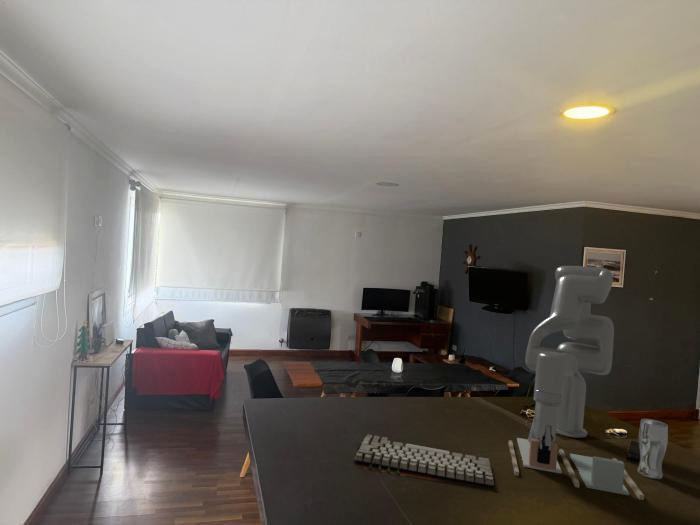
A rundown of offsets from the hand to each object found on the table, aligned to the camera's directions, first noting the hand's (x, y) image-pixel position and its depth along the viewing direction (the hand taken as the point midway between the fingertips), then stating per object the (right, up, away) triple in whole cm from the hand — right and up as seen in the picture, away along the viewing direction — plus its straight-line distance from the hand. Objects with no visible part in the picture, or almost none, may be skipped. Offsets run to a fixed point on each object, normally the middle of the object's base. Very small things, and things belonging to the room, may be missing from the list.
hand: (542, 460), depth 132 cm
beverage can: (+4, -2, +15) cm, 15 cm away
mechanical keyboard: (-35, 0, -3) cm, 35 cm away
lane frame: (+8, -3, +1) cm, 8 cm away
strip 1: (+2, -2, +9) cm, 10 cm away
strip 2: (+15, -3, -1) cm, 16 cm away
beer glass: (+32, -5, +2) cm, 32 cm away
